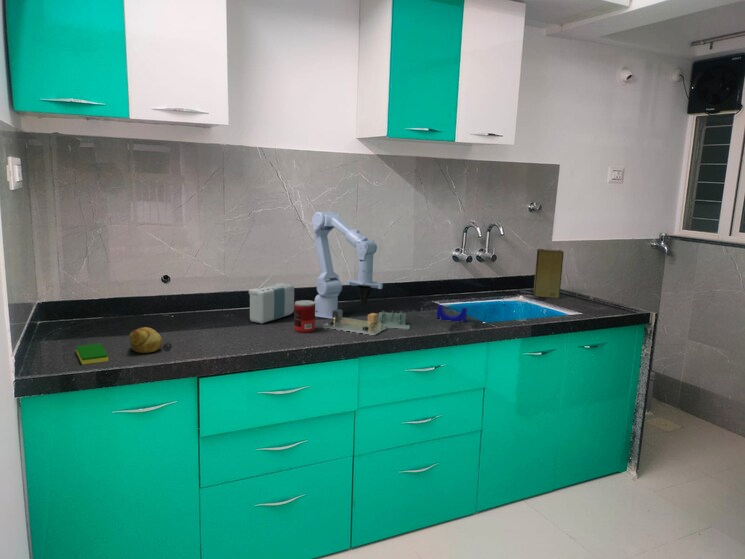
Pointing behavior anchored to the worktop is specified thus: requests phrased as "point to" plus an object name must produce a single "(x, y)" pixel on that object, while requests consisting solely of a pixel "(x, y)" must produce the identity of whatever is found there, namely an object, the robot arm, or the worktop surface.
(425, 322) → the worktop surface
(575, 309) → the worktop surface
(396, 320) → the metal bracket
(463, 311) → the cable clip
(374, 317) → the block
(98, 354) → the dish sponge
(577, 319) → the worktop surface
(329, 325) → the plate
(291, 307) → the stereo radio cassette player
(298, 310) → the canned food
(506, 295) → the worktop surface
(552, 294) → the food packaging
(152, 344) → the bread roll
